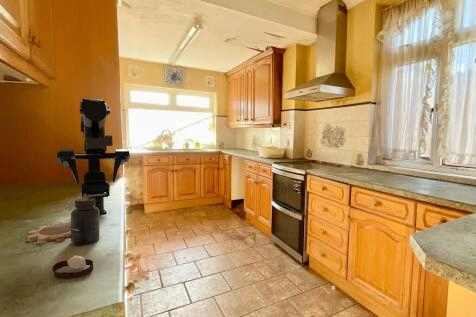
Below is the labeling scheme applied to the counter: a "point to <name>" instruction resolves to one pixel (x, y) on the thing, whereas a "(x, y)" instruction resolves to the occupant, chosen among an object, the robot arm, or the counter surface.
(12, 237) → the counter surface
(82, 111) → the robot arm
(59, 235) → the sprocket wheel
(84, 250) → the counter surface
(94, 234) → the supplement bottle
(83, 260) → the watch
